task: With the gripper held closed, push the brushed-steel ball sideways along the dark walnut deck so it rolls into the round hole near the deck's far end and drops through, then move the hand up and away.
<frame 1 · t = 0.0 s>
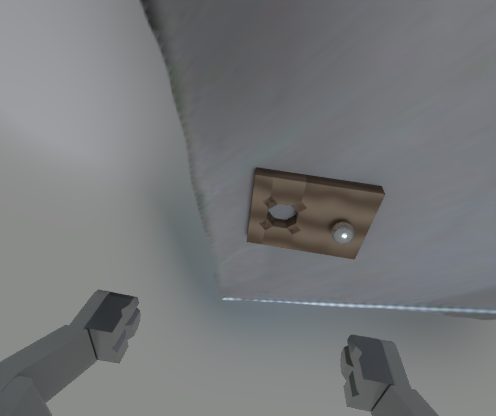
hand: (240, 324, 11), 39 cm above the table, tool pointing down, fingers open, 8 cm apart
walnut deck: (308, 212, 55), on the table
steel ball: (342, 232, 51), point 4 cm above the table, touching walnut deck
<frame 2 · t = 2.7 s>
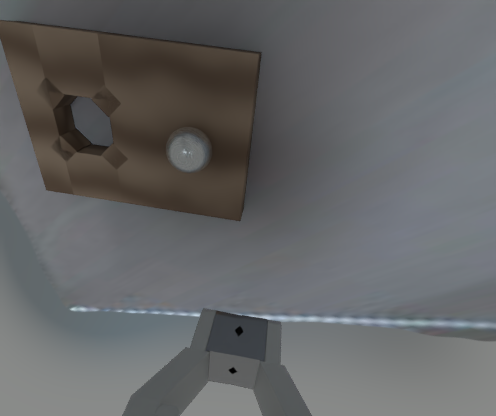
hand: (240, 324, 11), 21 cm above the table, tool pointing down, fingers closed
walnut deck: (145, 126, 29), on the table
steel ball: (189, 150, 25), point 4 cm above the table, touching walnut deck
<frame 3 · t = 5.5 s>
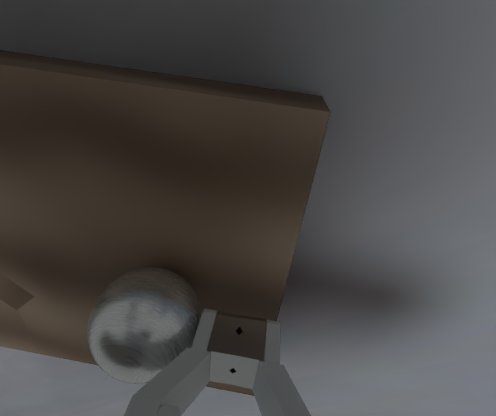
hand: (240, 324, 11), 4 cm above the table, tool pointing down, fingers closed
walnut deck: (73, 227, 15), on the table
steel ball: (148, 321, 11), point 4 cm above the table, touching gripper, walnut deck
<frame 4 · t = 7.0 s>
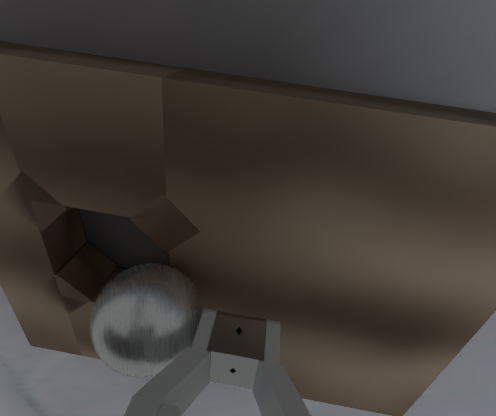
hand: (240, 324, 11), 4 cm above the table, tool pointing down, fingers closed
walnut deck: (229, 247, 15), on the table
steel ball: (149, 316, 11), point 4 cm above the table, tilted 123°, touching walnut deck
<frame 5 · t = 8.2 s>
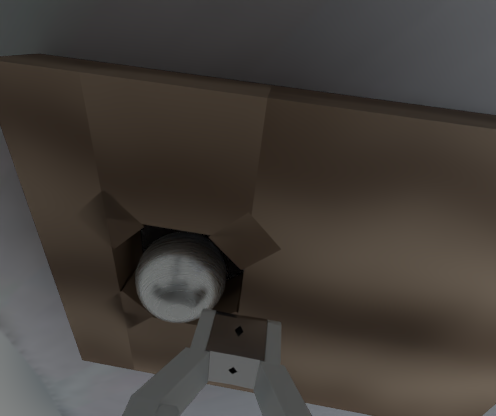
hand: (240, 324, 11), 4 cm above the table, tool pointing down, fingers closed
walnut deck: (291, 261, 14), on the table
steel ball: (182, 275, 13), point 2 cm above the table, tilted 14°
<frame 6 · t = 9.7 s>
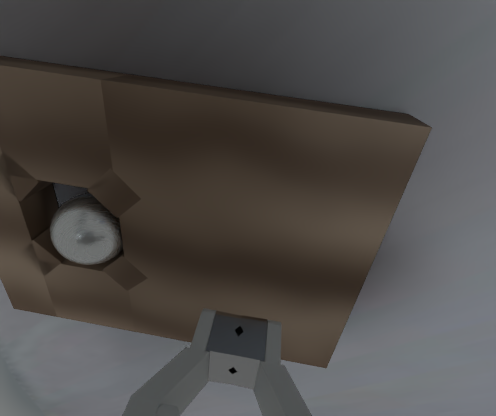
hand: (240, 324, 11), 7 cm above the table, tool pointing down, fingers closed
walnut deck: (176, 220, 18), on the table
steel ball: (92, 228, 16), point 2 cm above the table, tilted 36°
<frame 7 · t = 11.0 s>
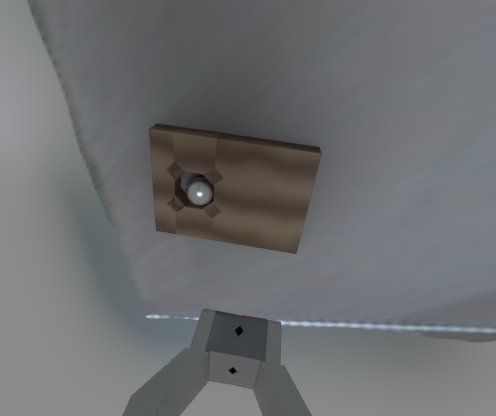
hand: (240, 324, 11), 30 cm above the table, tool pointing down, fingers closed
walnut deck: (232, 188, 42), on the table
steel ball: (200, 191, 41), point 2 cm above the table, tilted 35°
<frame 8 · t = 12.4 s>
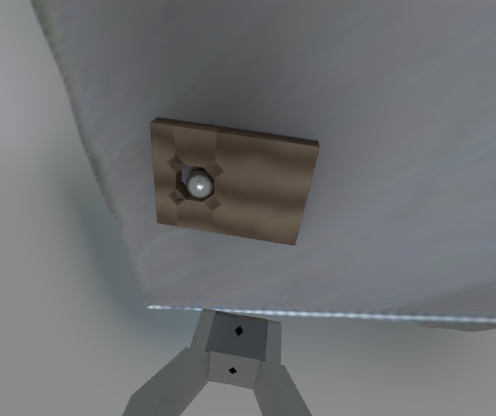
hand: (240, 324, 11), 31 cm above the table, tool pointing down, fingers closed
walnut deck: (232, 181, 43), on the table
steel ball: (200, 184, 41), point 2 cm above the table, tilted 34°
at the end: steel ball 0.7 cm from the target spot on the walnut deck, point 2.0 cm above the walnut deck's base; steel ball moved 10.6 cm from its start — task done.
